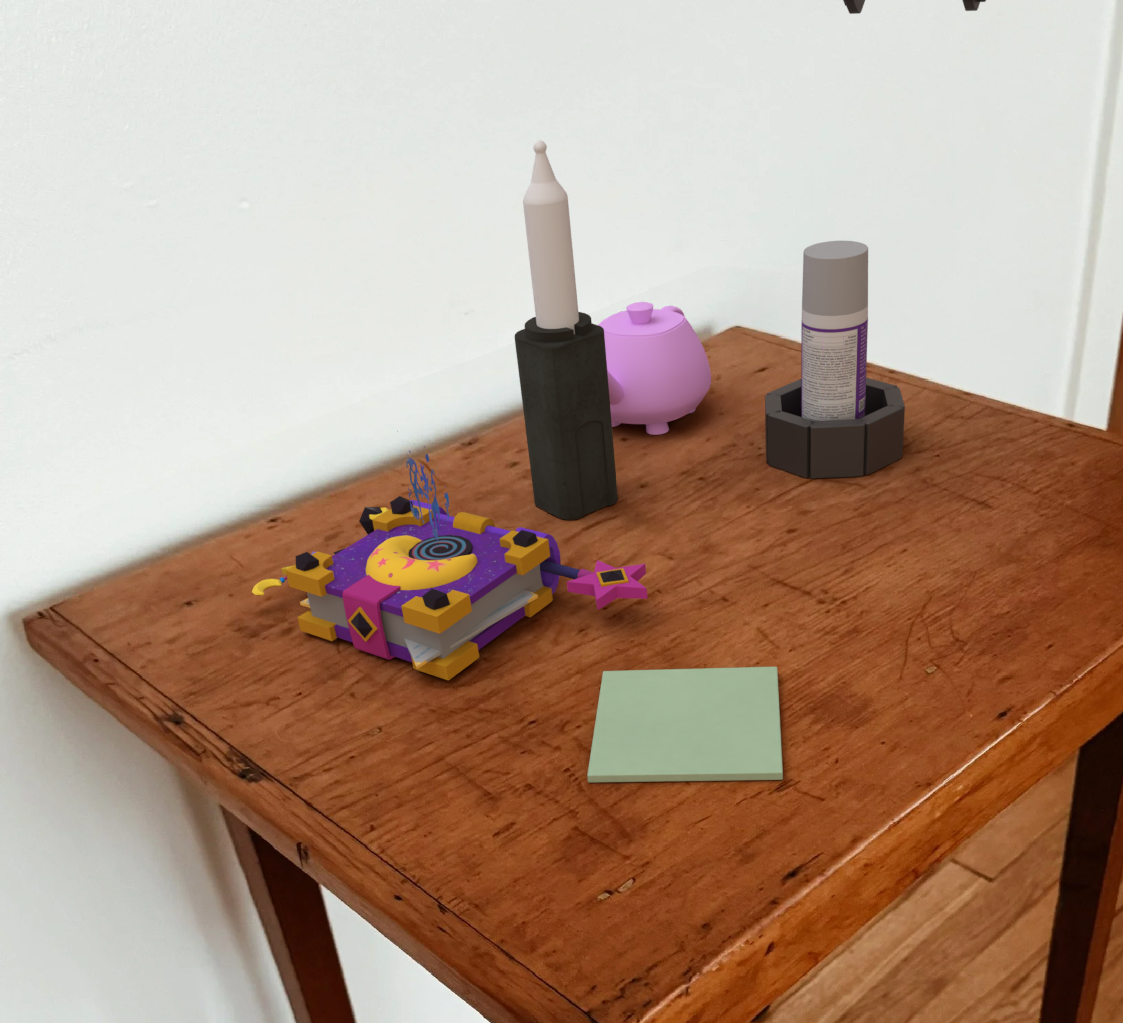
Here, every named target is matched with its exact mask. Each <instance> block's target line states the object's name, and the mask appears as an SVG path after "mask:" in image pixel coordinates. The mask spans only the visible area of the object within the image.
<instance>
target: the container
mask: <svg viewBox="0 0 1123 1023" xmlns="http://www.w3.org/2000/svg"><path fill="white" fill-rule="evenodd" d="M802 253H803V254H802V256H803V257H802V287H801V288H802V294H801V330H800V331H801V332H800V333H801V335H800V336H801V343H800V344H801V350H800V352H801V354H800V355H801V357H800V359H801V360H800V361H801V362H800V363H801V367H800V368H801V370H800V372H801V373H800V374H801V377H800V379H801V417H802V418H806V419H809V420H812V421H829V420H848V419H860V418H862V417H864V416H865V398H866V378H867V364H868V336H869V334H868V331H869V247H868V246H867V244H865V243H863V242H860V241H853V240H830V241H829V240H828V241H822V242H818V243H814V244H811V245H808V246H807V247H805V248H804V249H803V252H802Z"/></svg>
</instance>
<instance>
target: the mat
mask: <svg viewBox="0 0 1123 1023" xmlns="http://www.w3.org/2000/svg"><path fill="white" fill-rule="evenodd" d="M778 672H779V671H778V666H746V667H745V666H744V667H743V666H742V667H708V668H707V667H706V668H671V669H669V668H667V669H666V668H665V669H663V668H662V669H632V670H631V669H630V670H629V669H627V670H603V671H602V676H601V681H600V682H601V683H600V689H599V696H598V701H597V709H596V716H595V722H594V729H593V736H592V742H591V748H590V755H589V761H588V767H587V775H586V777H587V782H588V783H637V782H638V783H644V782H645V783H650V782H651V783H652V782H653V783H655V782H657V783H658V782H659V783H660V782H714V781H715V782H724V781H726V782H727V781H729V782H731V781H783V780H784V770H783V769H784V768H783V749H782V748H783V747H782V732H781V731H782V730H781V711H780V692H779V690H780V689H779V674H778Z"/></svg>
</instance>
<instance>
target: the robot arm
mask: <svg viewBox="0 0 1123 1023" xmlns="http://www.w3.org/2000/svg"><path fill="white" fill-rule="evenodd" d="M842 1H843V4H844V6H845V7H846V9H847V11H848V14H850V15H854V14H856V15H858V14H859V15H860V14H861V13H862V11H863V8H864V6H865V2H866V0H842ZM986 2H987V0H962V5H963V7H964V11H966V12H976V11H978V9H979V8H980V7H979V6H980V4H981V3H986Z"/></svg>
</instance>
